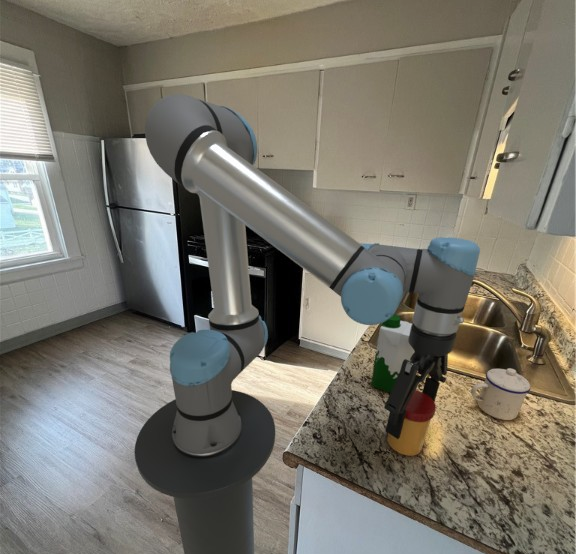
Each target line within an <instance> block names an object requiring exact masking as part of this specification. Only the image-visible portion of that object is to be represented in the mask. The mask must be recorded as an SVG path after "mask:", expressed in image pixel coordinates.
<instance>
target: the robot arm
mask: <svg viewBox="0 0 576 554" xmlns="http://www.w3.org/2000/svg"><path fill="white" fill-rule="evenodd" d="M144 125H145V126H144V135H145V142H146V146H147V149H148V151H149V154H150V155H151V157H152V158H153V160H154V161H155V163H156V164H157V166H158V167H159V168H160V169H161V170H162V171H163V172H164V173H165V174H166V175H167V176H168V177H169V178H171V179H172V180H173V181H174V182H176V183H177V184H178V185H180V186H181V187H182V188H184V190H186V191H188V192H189V193H192V194H196V195H198V197H199V205H200V213H201V220H202V229H203V234H204V243H205V250H206V257H207V265H208V273H209V280H210V287H211V297H212V304H213V309H212V310H211V311H210V312H209V313H208V315H207V317H208V323H209V325H208V326H209V329H199V330H197V331H196V332H193V331H192V332H189V333H186V334H185V335H183V336H181V337H180V338H179V339H177V341H175V343H174V344H173V345H172V347H171V349H170V351H169V373H170V375H171V381H172V388H173V394H174V400H175V399H176V405H177V413H176V416H175V420H174V424H173V429H172V438H173V443H174V446H175V447H176V449H177V450H178V451H179V452H180V453H182V454H183V455H185V456H187V457H191V458H197V459H205V458H211V457H215V456H218V455H220V454H223V453H224V452H226V451H228V450H229V449H230V448H232V447H233V446H234V445H235V444H236V442H237V441H238V440H239V438H240V435H241V432H242V422H241V418H240V415H239V414H240V413H238V410H236V407H235V406H234V403H233V401H232V390H233V389H232V384H233V382H234V381H235V380H236V378H237V377H238V376H239V375H240V374H241V373H242V372H243V371H244V370H245V369H246V368H247V367H249V365H250V364H251V363H252V362H253V361H255V359H257V357H259V355H260V354H261V353H262V352H263V350H264V348H265V347H266V345H267V343H268V339H269V332H268V326H267V324H266V322H265V321H264V320H262V317H261V315H260V314H259V309H258V308H256V307H255V306H254V305H253V304H252V294H251V281H250V270H249V267H250V266H249V256H248V245H247V243H248V242H247V231H246V230H247V229H246V227H247V228H249V229H250V230H251V231H253V233H255V234H257V235H258V236H259V237H260V238H262V239H263V240H265V241H266V242H267V243H268V244H270V245H271V246H273V247H274V248H276V249H277V250H278V251H280V252H281V253H282V254H284V255H285V256H286V257H287V258H289V259H290V260H291V261H293V263H295V264H296V265H298V266H299V267H301V268H302V269H303V270H305V271H306V272H307V273H309V274H310V275H311V276H313V277H314V278H315V279H317V280H318V281H320V282H321V283H322V284H324V286H326V287H328V288H329V289H330V290H331V291H333V292H334V293H335V294H336V295H338V296H339V297H340V303H341V306H342V308H343V310H344V312H345V314H346V315H347V316H348V318H350V319H351V320H352V321H354V322H356V323H358V324H361V325H364V326H376V325H380V324H382V323H383V322H385V321H386V320H388V319H389V318H390V317H392V316H393V314H395V313H396V311H397V310H398V308H399V306H400V303H401V301H403V296H404V293H409V294H417V299H416V304H415V307H414V311H413V315H412V320H411V321H412V323H411V324H412V325H411V330H410V334H409V339H408V342H409V344H410V345H411V347H412V348H413V349H414V353H413V355H412V356H411V358H410V361H409V360H407V359H404V361H403V363H402V366H401V370H400V373H399V375H398V377H397V379H396V382H395V384H394V386H393V388H392V391H391V393H389V395H388V398H387V399H386V402H385V404H384V407H383V408H384V410H386V411H388V412H389V414H388V418H387V423H386V427H385V432H386V433H387V434H388V433H389V434H391V435H392V436H394V437H395V438H397V439H399V438H400V435H401V431H402V427H403V423H404V419H405V415H406V411H405V408H406V406H407V404H408V403H409V401H410V399H411V397H412V395H413V394H414V392H415V390H417V388H418V386H419V384H420V383H424V384H423V388H422V391H421V392H423V393H425V394H426V395H428V396H429V397H430V398H431V399H432V400H433V401H434V402H435V401H436V398H437V394H438V391H439V388H440V385H441V383H443V384H444V383H446V381H447V377H445V376H446V375H447V374H448V362H449V361H448V359H449V354H450V353H451V352H452V351H453V348H454V345H455V341H456V338H457V332H458V330H459V327H460V324H463V323H464V322H465V318H464V317H463V314H464V310H465V308H466V307H465V306H466V304H467V301H468V297H469V294H470V291H471V288H472V285H473V281H474V278H475V276H476V275H477V272H476V271H477V266H478V262H479V257H480V254H481V253H480V252H481V248H480V246H479V245H478V244H477V243H476V242H475V241H472V240H469V239H464V238H458V237H443V236H442V237H441V236H439V237H435V238H433V239H431V240H430V242H429V245H428V246H427V248H412V247H403V246H395V245H387V244H380V243H378V242H375V243H364V242H363V243H362V242H361V243H360V242H358V241H357V240H355V239H354V238H353V237H352V236H351V235H348V233H346V232H345V231H343V230H342V229H341V228H340V227H338V226H337V225H335V224H334V223H332V222H331V221H330V220H329V219H327V218H325V217H324V216H323V215H321V214H320V213H318V212H317V211H316V210H315V209H313V208H312V207H311V206H309V205H308V204H306V203H305V202H304V201H302V200H301V199H300V198H298V197H297V196H295V195H294V194H293V193H291V192H290V191H288V190H287V189H285V187H283V186H282V185H280V184H279V183H278V182H276V181H275V180H274V179H272V178H270V177H269V176H268V175H266V173H264V172H262V171H261V170H260V169H258V168H257V167H256V166H254V165H255V163H256V161H257V157H258V141H257V137H256V134H255V132H254V129H253V127H252V126H251V125H250V123H249V122H248V121H247V119H246V118H245V117H243V116H242V115H241V114H239V113H238V112H236V111H235V110H234V109H231V108H230V107H227V106H224V105H217V104H214V103H211V102H208V101H206V100H202V99H199V98H196V97H194V96H192V95H187V94H182V93H178V94H176V93H175V94H168V95H166V96H164V97H162V98H160V99H159V100H157V101H155V103H154V104H153V106H151V108H150V110H149V112H148V114H147V116H146V119H145V124H144Z"/></svg>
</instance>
